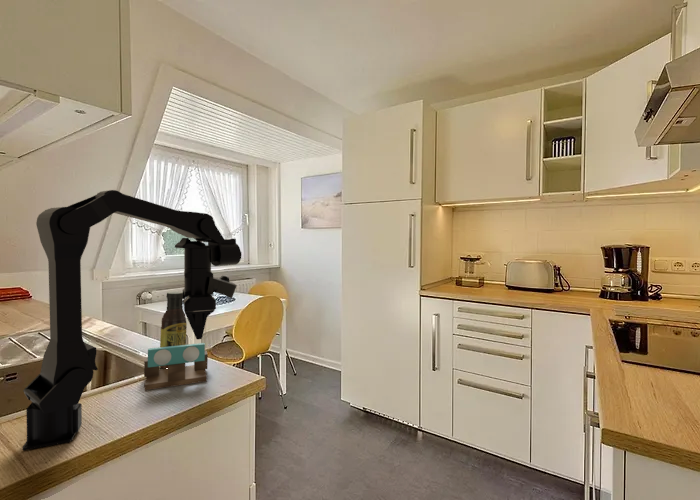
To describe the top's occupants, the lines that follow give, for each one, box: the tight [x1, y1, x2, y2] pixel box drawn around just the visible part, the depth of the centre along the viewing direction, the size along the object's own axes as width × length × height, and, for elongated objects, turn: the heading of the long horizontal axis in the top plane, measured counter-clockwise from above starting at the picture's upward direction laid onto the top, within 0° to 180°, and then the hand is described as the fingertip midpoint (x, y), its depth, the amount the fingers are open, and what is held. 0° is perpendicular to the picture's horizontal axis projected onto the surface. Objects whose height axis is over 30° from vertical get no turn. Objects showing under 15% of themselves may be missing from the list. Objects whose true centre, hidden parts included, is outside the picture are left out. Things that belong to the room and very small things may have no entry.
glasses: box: [147, 342, 206, 367], centre depth 86 cm, size 12×8×4 cm, turn 116°
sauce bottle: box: [159, 291, 188, 369], centre depth 95 cm, size 7×6×20 cm
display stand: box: [143, 350, 209, 391], centre depth 87 cm, size 14×9×5 cm, turn 116°
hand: (197, 333), depth 83 cm, fingers open, 9 cm apart
